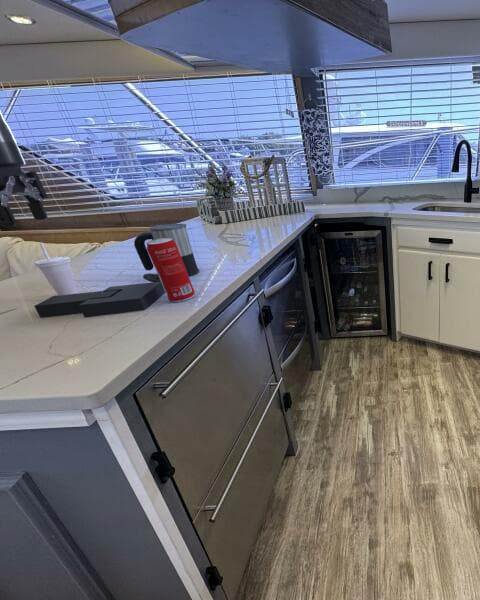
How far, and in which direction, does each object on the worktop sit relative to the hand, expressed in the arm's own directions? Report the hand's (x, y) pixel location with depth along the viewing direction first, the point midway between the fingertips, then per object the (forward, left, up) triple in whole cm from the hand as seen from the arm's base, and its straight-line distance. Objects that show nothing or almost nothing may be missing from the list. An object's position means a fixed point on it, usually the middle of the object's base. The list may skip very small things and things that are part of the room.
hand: (26, 222), depth 71 cm
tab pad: (+6, -4, -20) cm, 21 cm away
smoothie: (-5, +9, -21) cm, 23 cm away
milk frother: (+19, +14, -21) cm, 31 cm away
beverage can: (+27, -5, -21) cm, 34 cm away
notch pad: (+15, -4, -20) cm, 25 cm away
